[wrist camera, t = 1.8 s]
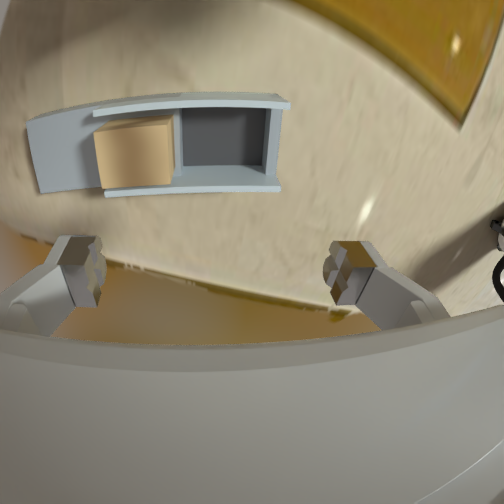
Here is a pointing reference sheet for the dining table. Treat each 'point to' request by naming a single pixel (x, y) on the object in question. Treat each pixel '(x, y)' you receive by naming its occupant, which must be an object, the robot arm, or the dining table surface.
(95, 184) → the trap trough
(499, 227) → the coffee press
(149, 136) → the oak block
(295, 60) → the dining table surface
